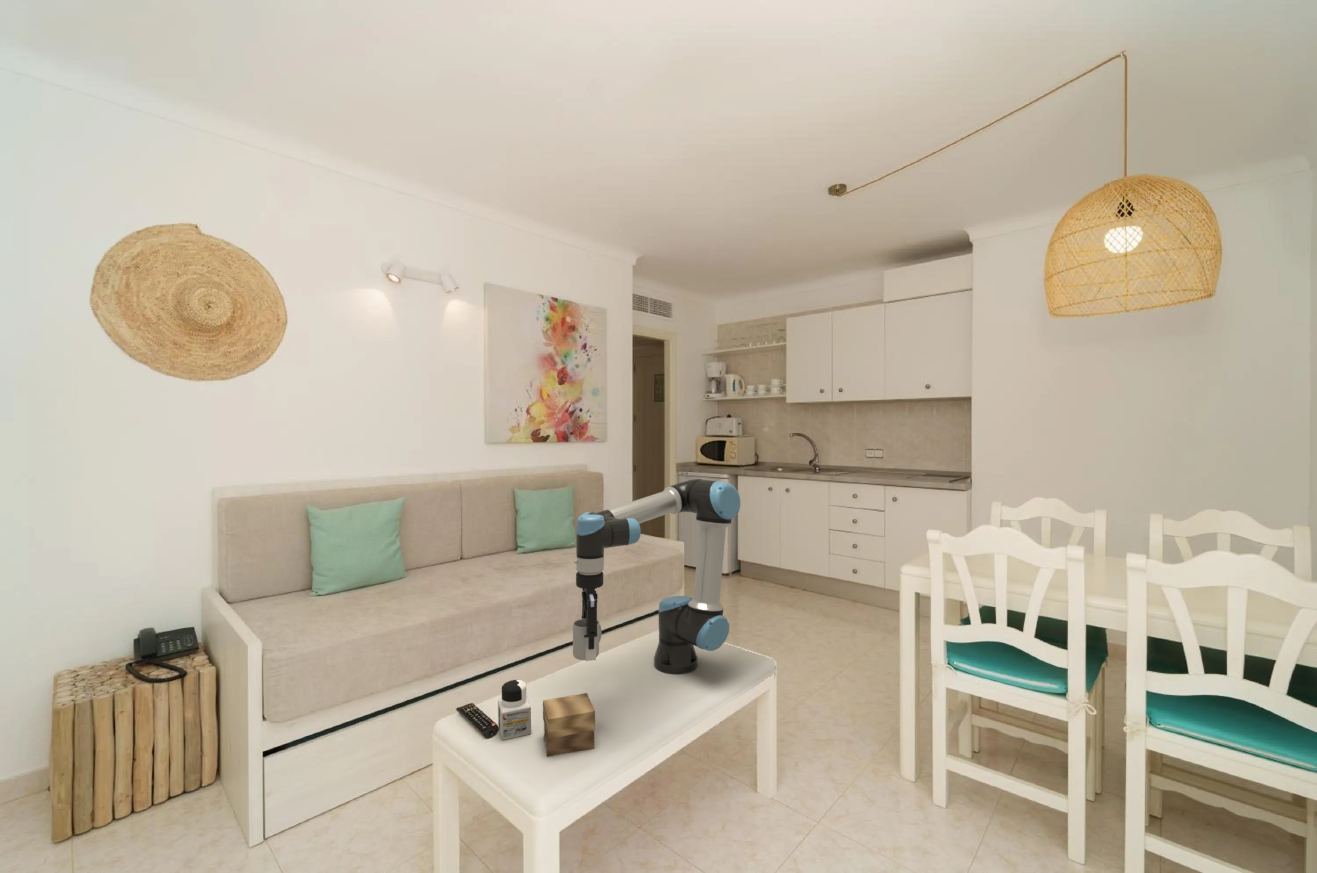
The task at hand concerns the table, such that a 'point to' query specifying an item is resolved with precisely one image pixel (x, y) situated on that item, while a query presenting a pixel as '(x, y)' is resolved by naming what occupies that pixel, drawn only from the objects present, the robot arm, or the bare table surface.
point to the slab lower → (569, 743)
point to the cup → (579, 639)
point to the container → (514, 710)
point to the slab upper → (568, 715)
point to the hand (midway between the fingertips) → (588, 653)
